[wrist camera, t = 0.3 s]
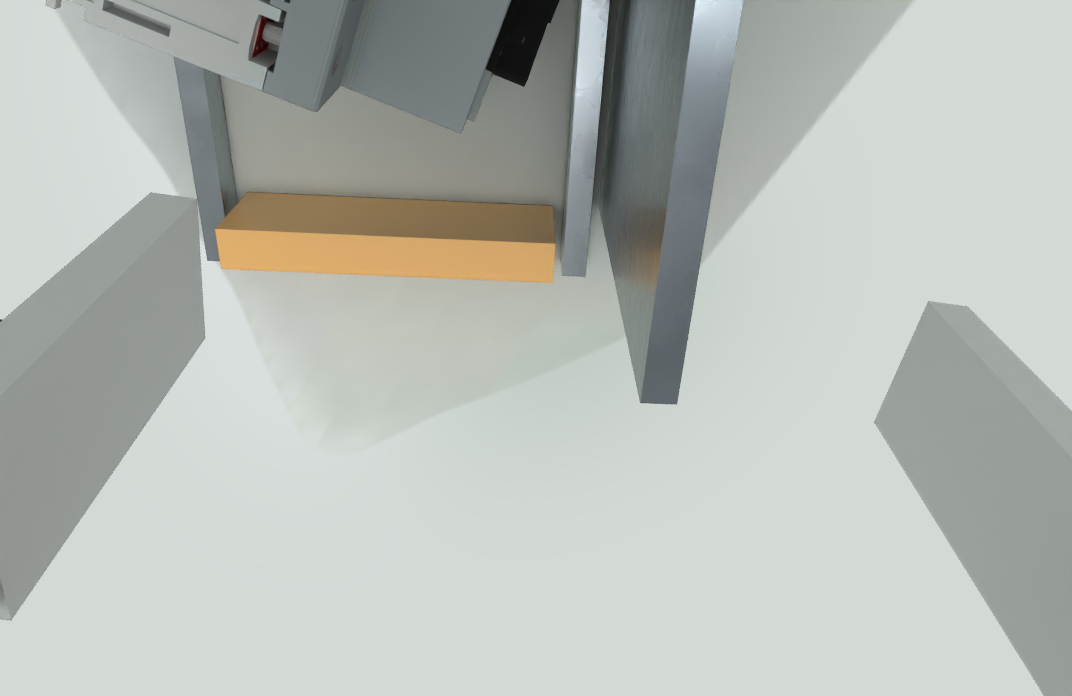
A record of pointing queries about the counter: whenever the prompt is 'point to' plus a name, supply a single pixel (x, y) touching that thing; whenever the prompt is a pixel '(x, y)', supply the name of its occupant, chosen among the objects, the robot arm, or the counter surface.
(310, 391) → the counter surface
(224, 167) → the dark grey piece
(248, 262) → the orange rectangular bar
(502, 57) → the circuit breaker
